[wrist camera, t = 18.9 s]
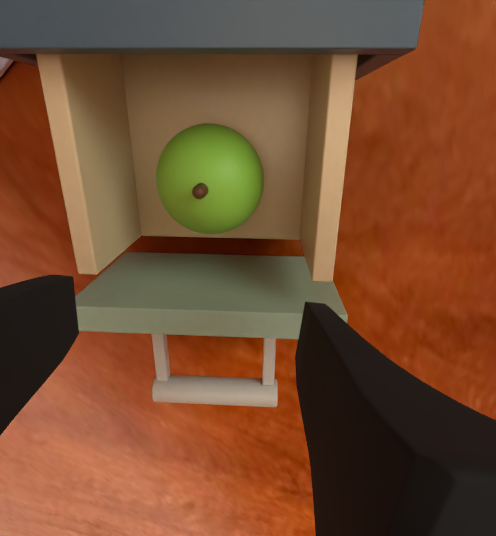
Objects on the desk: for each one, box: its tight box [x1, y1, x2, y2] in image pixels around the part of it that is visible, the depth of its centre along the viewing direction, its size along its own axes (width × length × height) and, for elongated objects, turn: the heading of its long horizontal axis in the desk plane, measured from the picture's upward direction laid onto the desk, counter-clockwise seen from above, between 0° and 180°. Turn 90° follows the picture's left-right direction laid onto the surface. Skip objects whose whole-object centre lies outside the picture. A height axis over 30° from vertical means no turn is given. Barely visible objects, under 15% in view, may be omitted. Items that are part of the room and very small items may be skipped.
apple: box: [156, 123, 264, 234], centre depth 15 cm, size 5×5×5 cm
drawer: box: [36, 54, 358, 407], centre depth 16 cm, size 19×11×7 cm, turn 179°
